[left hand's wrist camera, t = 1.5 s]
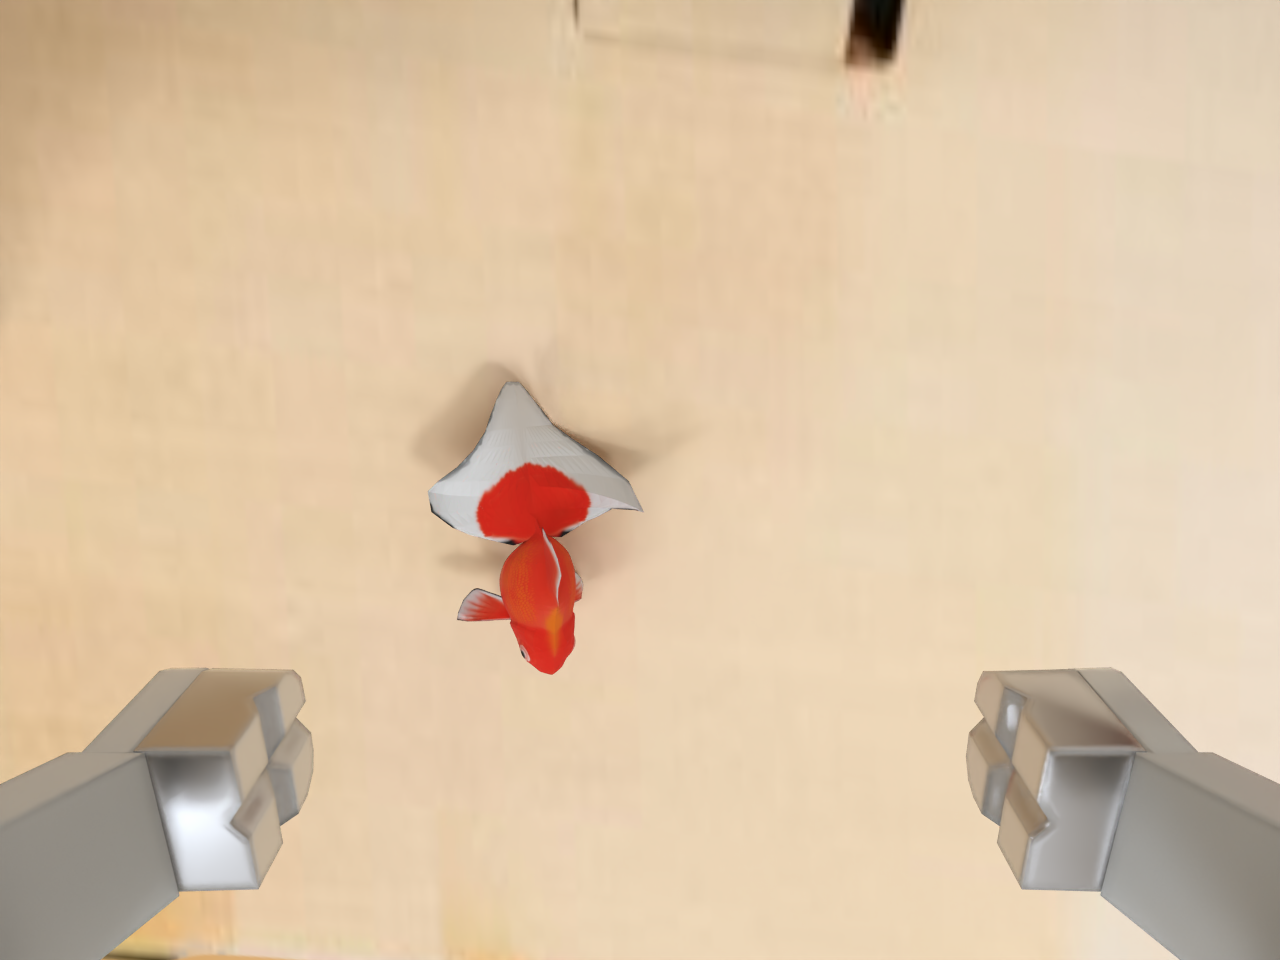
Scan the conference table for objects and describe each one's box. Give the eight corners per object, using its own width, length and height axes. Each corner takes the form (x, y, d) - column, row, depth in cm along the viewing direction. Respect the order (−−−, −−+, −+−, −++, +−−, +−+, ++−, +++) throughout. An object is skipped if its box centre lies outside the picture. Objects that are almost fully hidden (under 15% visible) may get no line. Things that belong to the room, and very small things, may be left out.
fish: (387, 648, 48) (418, 683, 39) (431, 379, 50) (470, 352, 40) (565, 662, 52) (629, 696, 43) (600, 415, 54) (670, 397, 45)
